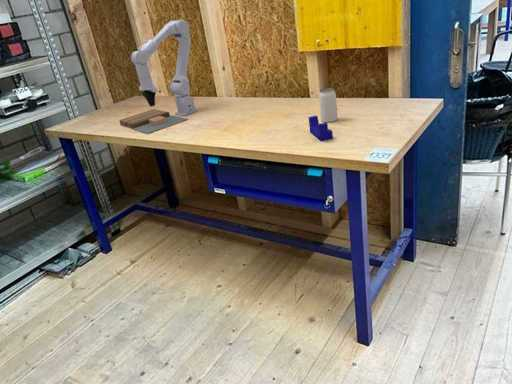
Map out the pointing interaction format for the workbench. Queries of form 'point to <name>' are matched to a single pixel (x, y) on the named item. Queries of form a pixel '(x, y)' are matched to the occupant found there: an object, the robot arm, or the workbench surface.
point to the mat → (160, 125)
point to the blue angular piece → (319, 129)
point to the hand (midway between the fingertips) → (152, 106)
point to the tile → (157, 120)
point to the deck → (142, 118)
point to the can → (328, 105)
